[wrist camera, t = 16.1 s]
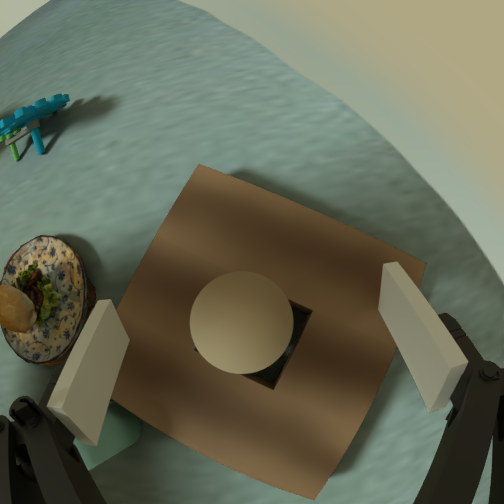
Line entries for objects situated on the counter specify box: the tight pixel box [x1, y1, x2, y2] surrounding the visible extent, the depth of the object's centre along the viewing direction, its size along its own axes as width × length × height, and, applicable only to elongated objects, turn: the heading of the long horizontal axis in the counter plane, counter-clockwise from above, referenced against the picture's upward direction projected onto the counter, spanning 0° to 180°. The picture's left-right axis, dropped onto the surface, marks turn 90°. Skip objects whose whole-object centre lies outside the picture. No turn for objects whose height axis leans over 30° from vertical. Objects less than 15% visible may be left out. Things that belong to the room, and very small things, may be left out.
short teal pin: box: [73, 404, 141, 471], centre depth 17 cm, size 4×4×7 cm
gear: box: [0, 94, 70, 161], centre depth 27 cm, size 11×6×10 cm
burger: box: [0, 235, 96, 365], centre depth 21 cm, size 12×12×8 cm
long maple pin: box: [190, 271, 293, 374], centre depth 17 cm, size 4×4×12 cm
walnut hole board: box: [111, 164, 426, 500], centre depth 21 cm, size 18×18×3 cm
